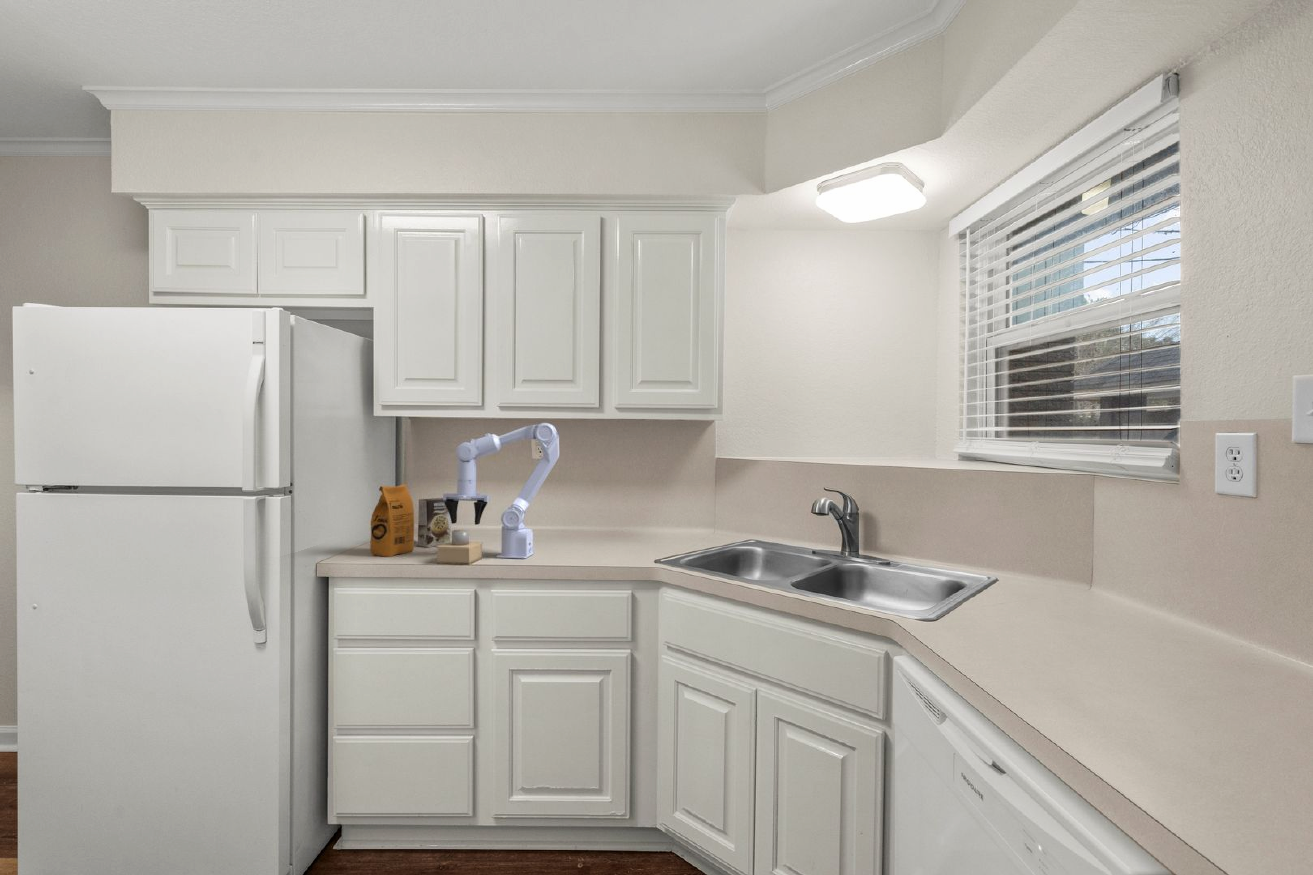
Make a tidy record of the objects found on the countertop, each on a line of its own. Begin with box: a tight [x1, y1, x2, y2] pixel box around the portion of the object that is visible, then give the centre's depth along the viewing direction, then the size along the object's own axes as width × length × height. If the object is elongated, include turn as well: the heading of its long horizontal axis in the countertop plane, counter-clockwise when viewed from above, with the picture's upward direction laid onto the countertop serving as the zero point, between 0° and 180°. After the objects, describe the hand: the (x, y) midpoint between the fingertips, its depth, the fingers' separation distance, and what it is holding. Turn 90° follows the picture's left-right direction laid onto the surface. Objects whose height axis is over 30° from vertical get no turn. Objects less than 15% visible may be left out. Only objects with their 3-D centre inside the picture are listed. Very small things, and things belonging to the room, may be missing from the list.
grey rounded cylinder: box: [451, 529, 470, 546], centre depth 183 cm, size 5×5×4 cm
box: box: [436, 543, 483, 566], centre depth 183 cm, size 10×9×4 cm
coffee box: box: [417, 497, 452, 548], centre depth 209 cm, size 9×6×16 cm
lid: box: [436, 540, 483, 550], centre depth 183 cm, size 10×9×1 cm
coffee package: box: [369, 483, 415, 558], centre depth 194 cm, size 10×12×22 cm
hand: (465, 523), depth 190 cm, fingers open, 7 cm apart
